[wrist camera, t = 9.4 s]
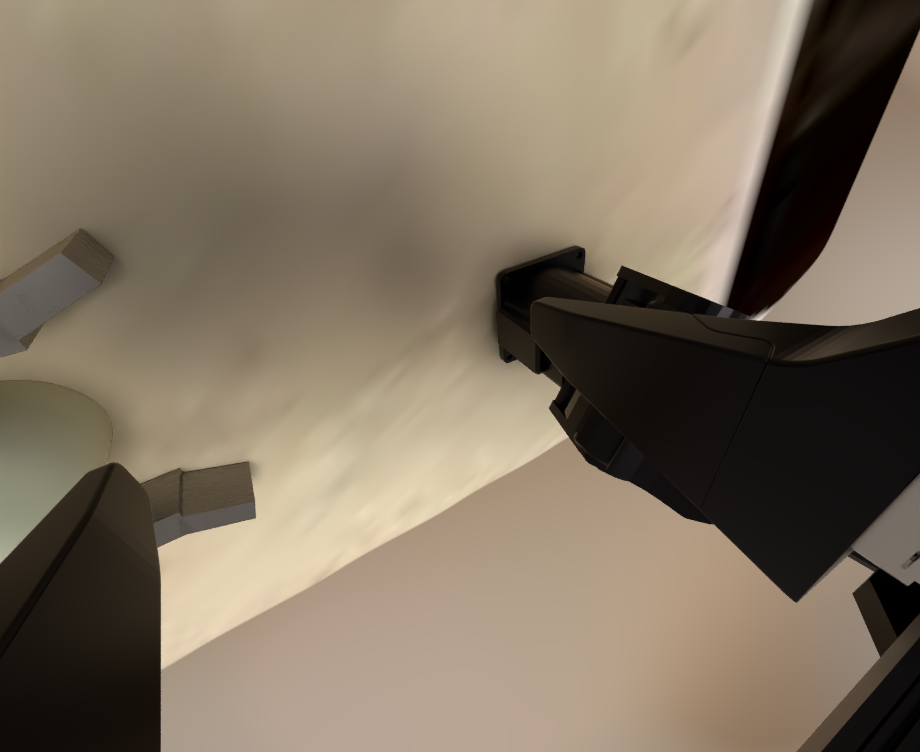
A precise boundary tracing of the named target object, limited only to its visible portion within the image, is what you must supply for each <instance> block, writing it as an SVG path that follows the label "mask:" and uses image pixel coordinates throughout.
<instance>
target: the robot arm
mask: <svg viewBox="0 0 920 752" xmlns="http://www.w3.org/2000/svg"><path fill="white" fill-rule="evenodd" d="M577 254H578V255H577ZM584 264H585V249H584V248H582V247H579V246H575V247H572V248H569V249H566V250H563V251H560V252H557V253H554V254H551V255H548V256H546V257H543V258H540V259H537V260H534V261H531V262H528V263H525V264H522V265H519V266H516V267H513V268H510V269H507V270H504V271H502V272H501V273H500V274H499V275H498V277H497V300H498V309H497V328H498V343H499V345H500V357H501V359H502V360H503V361H504V362H506V363H509V362H512V361H514V360H517V359H518V360H519V361H520V362H522V363H523V364H524V365H525V366H527V367H528V368H529V369H530V370H531V371H533V372H534V373H536V374H541V373H543V374H544V375H546V376H547V377H548V378H549V379H551V380H552V381H553V382H555V383H556V384H557V385H558V386H560V387H561V389H560V391H559V393H558V395H557V397H556V399H555V400H553V401H552V403H551V405H550V407H549V409H550V411H551V412H552V414H553V415H554V416H555V418H556V419H557V421H558V422H559V424H560V425H561V426H562V428H563V429H564V431H565V432H566V434H567V435H568V436H569V438H570V439H571V441H572V442H573V444H574V445H575V446H576V448H577V449H578V451H579V452H580V453H581V454H582V455H583V457H584V458H585V460H586V461H587V462H588V463H589V464H591V465H593V466H596V467H597V468H598V469H599V470H601V471H603V472H605V473H607V474H609V475H611V476H613V477H616V478H618V479H621V480H624V481H629V482H631V483H633V484H635V485H636V486H638V487H640V488H642V489H643V490H645V491H647V492H648V493H650V494H651V495H653V496H654V497H656V498H657V499H659V500H661V501H662V502H663V503H664V504H666V505H667V506H669V507H670V508H672V509H673V510H674V511H676V512H677V513H678V514H680V515H681V516H683V517H685V518H687V519H691V520H695V521H698V522H703V523H707V524H714V525H715V526H716V527H717V528H718V529H719V530H720V531H721V532H722V533H723V534H724V535H725V536H727V537H728V538H729V539H730V540H731V541H732V542H733V543H734V544H735V545H736V546H737V547H738V548H739V549H740V550H741V551H742V552H743V553H744V554H745V555H746V556H747V557H748V558H749V559H750V560H751V561H752V562H753V563H754V564H755V565H756V566H757V567H758V568H759V569H760V570H761V571H762V572H763V573H764V574H765V575H766V576H767V577H768V578H769V579H770V580H771V581H772V582H773V583H774V584H775V585H776V586H778V587H779V588H780V589H781V590H782V591H783V592H784V593H785V594H786V595H787V596H788V597H789V598H791V599H792V600H793V601H794V602H796V603H797V602H798V601H799V600H800V599H802V598H803V597H804V596H805V595H806V594H807V593H808V592H809V591H810V590H811V589H812V588H813V587H815V586H816V585H817V584H818V583H819V582H820V581H821V580H822V579H823V578H824V577H825V576H827V575H828V574H829V573H830V572H831V571H832V570H833V569H834V568H835V567H836V566H837V565H838V564H839V563H841V562H842V561H843V560H844V559H845V558H846V557H847V556H848V557H850V558H852V559H853V560H855V561H857V562H859V563H860V564H862V565H864V566H865V567H867V568H869V569H871V570H872V571H874V573H873V574H872V575H871V576H870V577H869V578H868V579H867V580H866V581H865V582H864V583H863V584H862V585H861V586H860V587H859V588H857V589H856V590H855V592H853V596H854V598H855V600H856V602H857V605H858V607H859V609H860V612H861V614H862V616H863V619H864V621H865V623H866V625H867V628H868V630H869V632H870V634H871V637H872V639H873V642H874V644H875V646H876V649H877V651H878V653H879V655H880V659H879V660H878V661H877V662H876V663H875V664H874V665H873V666H872V668H871V669H870V670H869V671H868V672H867V673H866V674H865V675H864V677H863V678H862V679H861V680H860V681H859V682H858V683H857V684H856V686H855V687H854V688H853V689H852V690H851V691H850V692H849V693H848V695H847V696H846V697H845V698H844V699H843V700H842V701H841V702H840V704H839V705H838V706H837V707H836V708H835V709H834V710H833V711H832V713H831V714H830V715H829V716H828V717H827V718H826V719H825V720H824V722H823V723H822V724H821V725H820V726H819V727H818V728H817V729H816V730H815V732H814V733H813V734H812V735H811V736H810V737H809V738H808V739H807V741H806V742H805V743H804V744H803V745H802V746H801V747H800V748H799V750H798V751H797V752H920V308H919V309H915V310H912V311H909V312H906V313H902V314H899V315H896V316H893V317H889V318H886V319H883V320H879V321H875V322H871V323H866V324H860V325H852V326H824V325H810V324H796V323H782V322H769V321H756V320H748V319H749V318H750V316H747V315H745V314H742V313H740V312H737V311H735V310H732V309H730V308H727V307H725V306H722V305H720V304H717V303H715V302H712V301H710V300H707V299H705V298H702V297H700V296H697V295H695V294H692V293H690V292H687V291H685V290H682V289H680V288H677V287H675V286H672V285H670V284H667V283H664V282H662V281H659V280H657V279H654V278H652V277H649V276H647V275H644V274H642V273H639V272H637V271H634V270H632V269H629V268H627V267H624V266H621V268H620V270H619V272H618V274H617V276H618V278H617V280H616V282H615V284H614V286H613V285H611V284H609V283H607V282H604V281H602V280H600V279H598V278H595V277H593V276H591V275H589V274H587V273H584ZM506 277H507V280H506V282H504V279H505V278H506ZM508 354H509V355H508ZM507 355H508V356H507ZM0 752H161V575H160V564H159V556H158V549H157V543H156V536H155V529H154V522H153V515H152V508H151V502H150V498H149V495H148V493H147V491H146V490H145V489H144V488H143V486H142V485H141V484H140V483H139V482H138V481H137V480H136V479H135V478H134V477H133V476H132V475H131V474H130V473H129V472H128V471H127V470H126V469H125V468H124V467H123V466H122V465H120V464H119V463H109V464H107V465H104V466H102V467H99V468H96V469H94V470H91V471H89V472H87V473H86V474H85V475H84V476H83V477H82V478H81V479H80V480H79V481H78V482H77V483H76V484H75V486H74V487H73V488H72V489H71V490H70V491H69V492H68V493H67V494H66V495H65V496H64V497H63V498H62V499H61V500H60V501H59V502H58V503H57V504H56V505H55V507H54V508H53V509H52V510H51V511H50V512H49V513H48V514H47V515H46V516H45V517H44V518H43V519H42V520H41V521H40V522H39V523H38V524H37V525H36V527H35V528H34V529H33V530H32V531H31V532H30V533H29V534H28V535H27V536H26V537H25V538H24V539H23V540H22V541H21V542H20V543H19V544H18V545H17V547H16V548H15V549H14V550H13V551H12V552H11V553H10V554H9V555H8V556H7V557H6V558H5V559H4V560H3V561H2V562H1V563H0Z"/></svg>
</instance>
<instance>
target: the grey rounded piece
mask: <svg viewBox="0 0 920 752" xmlns="http://www.w3.org/2000/svg"><path fill="white" fill-rule="evenodd" d="M112 436H113V430H112V425H111V421H110V419H109V417H108V415H107V414H106V413H105V411H104V410H103V409H102V408H101V407H100V406H99V405H98V404H97V403H95V402H94V401H93V400H91V399H90V398H88V397H87V396H85V395H83V394H81V393H79V392H77V391H74V390H72V389H69V388H66V387H63V386H60V385H56V384H52V383H46V382H40V381H28V380H11V381H0V563H1V562H2V561H3V560H4V559H5V558H6V557H7V556H8V555H9V554H10V553H11V552H12V551H13V550H14V549H15V548H16V547H17V545H18V544H19V543H20V542H21V541H22V540H23V539H24V538H25V537H26V536H27V535H28V534H29V533H30V532H31V531H32V530H33V529H34V528H35V527H36V525H37V524H38V523H39V522H40V521H41V520H42V519H43V518H44V517H45V516H46V515H47V514H48V513H49V512H50V511H51V510H52V509H53V508H54V507H55V505H56V504H57V503H58V502H59V501H60V500H61V499H62V498H63V497H64V496H65V495H66V494H67V493H68V492H69V491H70V490H71V489H72V488H73V487H74V486H75V484H76V483H77V482H78V481H79V480H80V479H81V478H82V477H83V476H84V475H85V474H86V473H87V472H89V471H91V470H94V469H96V468H99V467H102V466H104V465H106V463H107V459H108V455H109V450H110V446H111V442H112Z"/></svg>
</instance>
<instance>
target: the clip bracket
mask: <svg viewBox="0 0 920 752" xmlns="http://www.w3.org/2000/svg"><path fill="white" fill-rule="evenodd" d="M113 258H114V256H113V255H112V254H111V253H109V252H108V251H107V250H106V249H105V248H103V247H102V246H101V245H100V244H99V243H97V242H96V241H95V240H94V239H92V238H91V237H90V236H89V235H88V234H86V233H85V232H84V231H83V230H82V229H79V230H78V231H76V232H75V233H73V234H72V235H70V236H69V237H67V238H66V239H64V240H63V241H61V242H60V243H58V244H57V245H55V246H54V247H52V248H51V249H49V250H48V251H46V252H45V253H43V254H42V255H40V256H39V257H37V258H36V259H34V260H33V261H31V262H30V263H28V264H26V265H25V266H23V267H22V268H20V269H19V270H17V271H16V272H14V273H13V274H11V275H10V276H8V277H7V278H5V279H1V280H0V358H1V357H4V356H8V355H11V354H15V353H18V352H22V351H25V350H27V349H28V348H29V346H30V345H31V343H32V341H33V340H34V338H35V337H36V335H37V334H38V332H39V330H40V329H41V327H42V326H43V324H44V323H45V322H46V321H47V320H49V319H50V318H52V317H53V316H55V315H56V314H58V313H59V312H61V311H62V310H63V309H65V308H66V307H68V306H69V305H71V304H72V303H74V302H75V301H77V300H78V299H80V298H81V297H82V296H84V295H85V294H87V293H88V292H90V291H91V290H93V289H94V288H96V287H97V286H99V285H100V284H101V283H102V281H103V279H104V277H105V275H106V273H107V270H108V268H109V266H110V264H111V262H112V260H113ZM141 485H142V486H143V488H144V489H145V490H146V491H147V493H148V495H149V498H150V502H151V508H152V515H153V522H154V529H155V536H156V543H157V548H158V547H160V546H162V545H164V544H166V543H169V542H171V541H173V540H175V539H177V538H180V537H182V536H184V535H186V534H190V533H195V532H199V531H203V530H207V529H212V528H216V527H220V526H224V525H229V524H233V523H237V522H241V521H246V520H250V519H254V518H256V512H255V498H254V492H253V486H252V479H251V473H250V467H249V462H245V463H239V464H233V465H227V466H221V467H215V468H210V469H204V470H198V471H192V472H186V473H183V472H182V471H181V469H180V468H179V469H177V470H175V471H172V472H170V473H167V474H165V475H162V476H160V477H157V478H155V479H152V480H150V481H147V482H145V483H142V484H141Z"/></svg>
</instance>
